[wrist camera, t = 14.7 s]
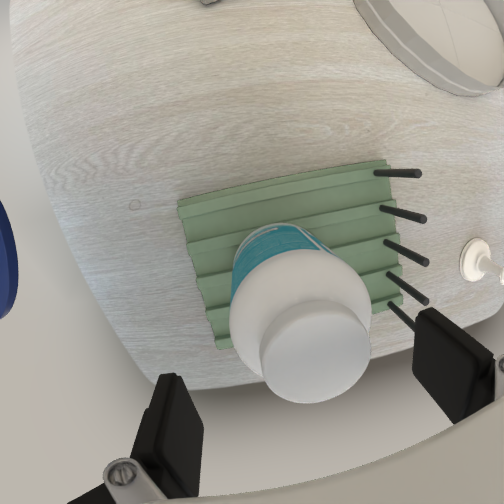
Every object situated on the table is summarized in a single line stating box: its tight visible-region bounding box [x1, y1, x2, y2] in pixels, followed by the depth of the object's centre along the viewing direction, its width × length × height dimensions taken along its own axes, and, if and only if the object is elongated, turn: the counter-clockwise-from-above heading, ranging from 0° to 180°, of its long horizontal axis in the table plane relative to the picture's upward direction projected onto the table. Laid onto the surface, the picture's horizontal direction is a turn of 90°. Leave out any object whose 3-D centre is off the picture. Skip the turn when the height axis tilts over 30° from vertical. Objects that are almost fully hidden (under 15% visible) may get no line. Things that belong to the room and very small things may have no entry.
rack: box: [177, 160, 429, 350], centre depth 22 cm, size 18×14×8 cm
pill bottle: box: [229, 223, 372, 403], centre depth 18 cm, size 8×7×14 cm
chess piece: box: [460, 238, 504, 285], centre depth 22 cm, size 5×5×10 cm
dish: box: [353, 0, 504, 97], centre depth 17 cm, size 22×22×5 cm
